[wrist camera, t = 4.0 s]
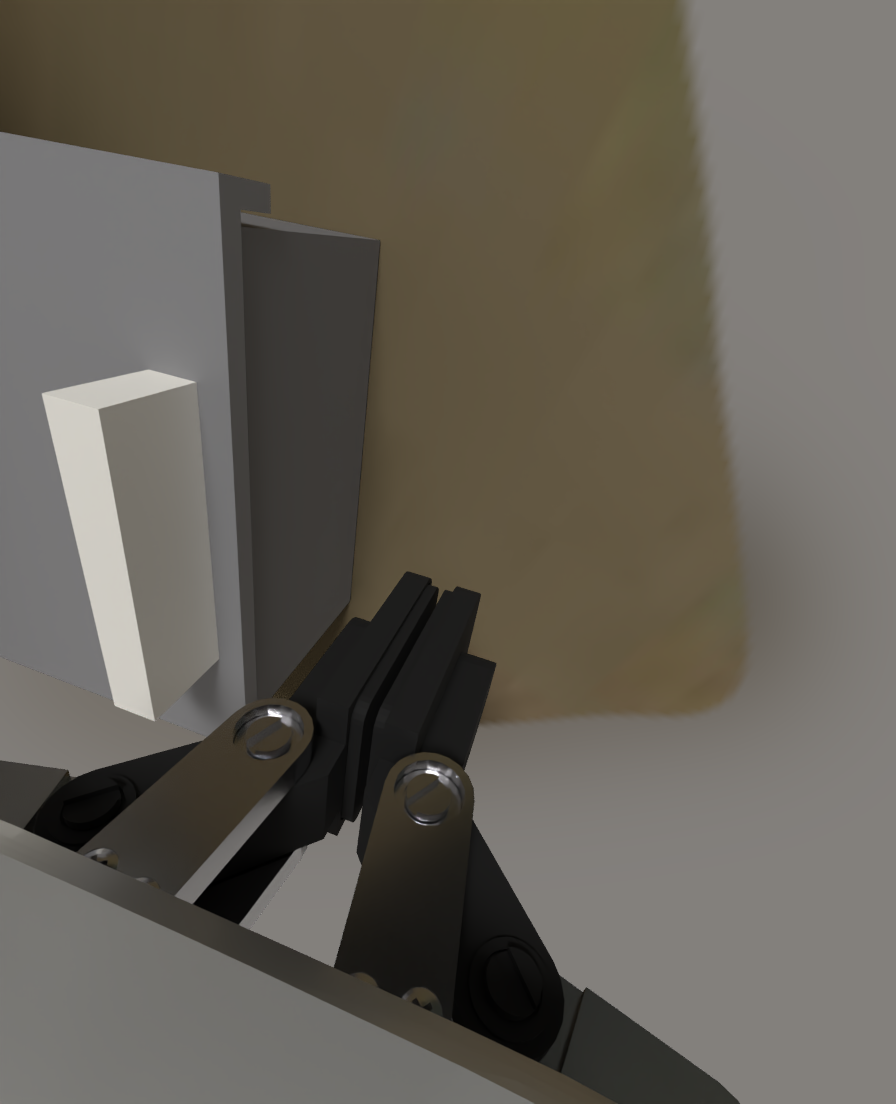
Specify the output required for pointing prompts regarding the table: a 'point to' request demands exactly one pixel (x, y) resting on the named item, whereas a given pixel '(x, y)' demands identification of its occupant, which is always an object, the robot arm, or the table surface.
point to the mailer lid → (126, 429)
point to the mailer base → (303, 427)
